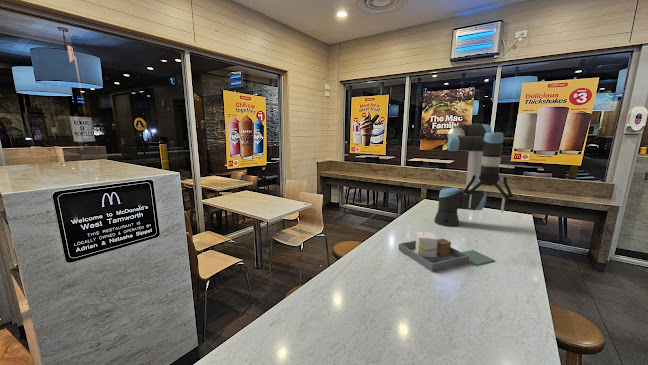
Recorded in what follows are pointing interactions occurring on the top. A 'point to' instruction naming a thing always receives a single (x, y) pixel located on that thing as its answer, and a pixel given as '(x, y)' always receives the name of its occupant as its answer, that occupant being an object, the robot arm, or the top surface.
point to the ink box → (426, 245)
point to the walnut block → (443, 248)
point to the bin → (459, 260)
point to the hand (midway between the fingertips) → (485, 209)
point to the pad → (477, 258)
